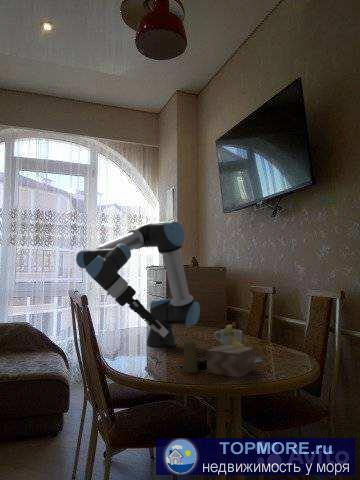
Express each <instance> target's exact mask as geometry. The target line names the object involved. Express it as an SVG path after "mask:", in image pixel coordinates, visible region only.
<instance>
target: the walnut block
mask: <svg viewBox="0 0 360 480" xmlns="http://www.w3.org/2000/svg"><path fill="white" fill-rule="evenodd" d="M254 361H255V349H254V347H249V346H245V347H242V346H233V345H224V344H221V345H217V346H214V347H212V348H208V349H206V372H207V373H209V374H215V375H222V376H225V377H234V378H241V377H244V376H245V375H247V374H249V373H251V372H253V371H254V370H255V362H254Z"/></svg>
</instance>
